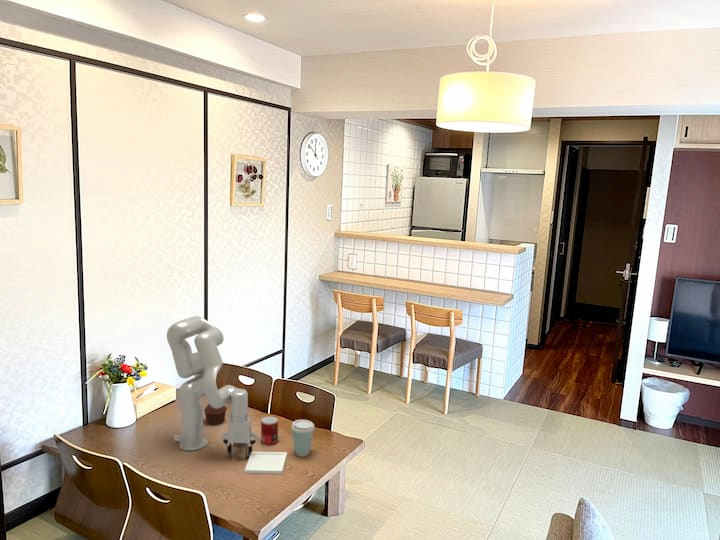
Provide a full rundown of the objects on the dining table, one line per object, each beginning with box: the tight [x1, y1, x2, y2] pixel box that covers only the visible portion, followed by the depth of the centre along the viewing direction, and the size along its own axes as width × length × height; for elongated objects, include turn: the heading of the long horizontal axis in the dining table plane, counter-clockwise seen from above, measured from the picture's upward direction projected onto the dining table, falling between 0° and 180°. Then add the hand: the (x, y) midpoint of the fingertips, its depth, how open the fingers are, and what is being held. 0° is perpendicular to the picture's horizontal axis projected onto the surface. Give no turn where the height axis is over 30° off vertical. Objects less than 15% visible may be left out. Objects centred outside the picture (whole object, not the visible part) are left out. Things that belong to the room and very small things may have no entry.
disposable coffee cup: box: [290, 419, 315, 457], centre depth 248 cm, size 11×11×15 cm
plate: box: [244, 451, 288, 475], centre depth 239 cm, size 16×16×1 cm
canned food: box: [260, 415, 279, 446], centre depth 259 cm, size 8×8×11 cm
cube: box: [231, 443, 249, 461], centre depth 245 cm, size 6×6×6 cm
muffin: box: [203, 403, 228, 426], centre depth 279 cm, size 12×11×10 cm
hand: (239, 453), depth 245 cm, fingers open, 8 cm apart
